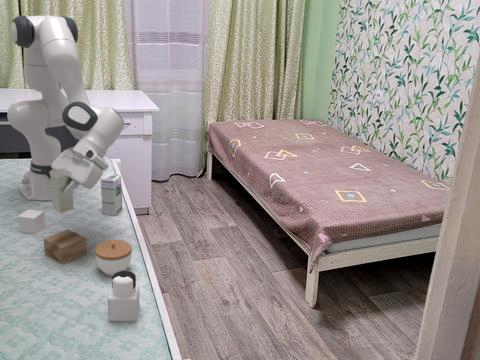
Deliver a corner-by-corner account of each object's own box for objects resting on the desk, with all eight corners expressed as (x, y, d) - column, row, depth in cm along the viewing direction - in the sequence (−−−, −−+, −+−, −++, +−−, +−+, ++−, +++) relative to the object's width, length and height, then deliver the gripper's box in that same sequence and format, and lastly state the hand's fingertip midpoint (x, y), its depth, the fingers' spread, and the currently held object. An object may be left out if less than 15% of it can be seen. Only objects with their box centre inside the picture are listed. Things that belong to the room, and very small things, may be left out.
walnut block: (45, 255, 156) (43, 238, 154) (68, 245, 163) (67, 229, 161) (63, 265, 152) (62, 248, 149) (86, 254, 159) (85, 237, 157)
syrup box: (116, 216, 186) (115, 180, 180) (101, 213, 187) (100, 178, 181) (122, 210, 191) (121, 175, 186) (108, 208, 192) (107, 173, 187)
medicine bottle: (113, 305, 134) (111, 267, 130) (139, 305, 135) (139, 267, 130) (108, 321, 127) (107, 282, 123) (136, 322, 128) (136, 282, 124)
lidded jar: (100, 283, 144) (99, 254, 140) (92, 265, 152) (91, 238, 149) (136, 275, 148) (135, 248, 145) (126, 259, 157) (126, 232, 154)
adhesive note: (35, 234, 168) (34, 218, 166) (19, 232, 169) (18, 216, 167) (45, 226, 174) (43, 211, 172) (29, 224, 175) (27, 209, 173)
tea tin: (52, 208, 151) (49, 171, 147) (66, 204, 155) (64, 168, 151) (59, 213, 148) (57, 175, 144) (74, 209, 152) (72, 172, 148)
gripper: (63, 140, 156) (36, 175, 153) (98, 156, 144) (69, 195, 140) (76, 151, 161) (50, 185, 158) (112, 168, 148) (84, 205, 145)
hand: (59, 190), depth 149 cm, fingers closed on tea tin, 4 cm apart
